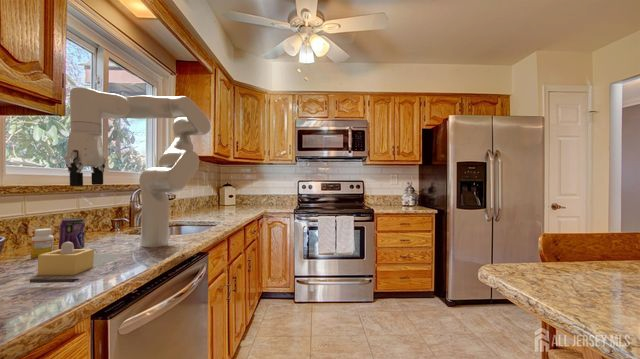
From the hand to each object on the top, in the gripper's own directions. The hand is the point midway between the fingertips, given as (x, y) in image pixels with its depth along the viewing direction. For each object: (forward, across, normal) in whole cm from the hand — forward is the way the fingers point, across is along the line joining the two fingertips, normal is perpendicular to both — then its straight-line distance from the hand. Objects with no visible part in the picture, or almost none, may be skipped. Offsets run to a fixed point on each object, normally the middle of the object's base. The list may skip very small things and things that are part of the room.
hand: (87, 185), depth 90 cm
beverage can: (+25, -17, -16) cm, 35 cm away
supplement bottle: (+25, -7, -18) cm, 32 cm away
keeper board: (+24, +5, +2) cm, 25 cm away
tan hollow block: (+22, +12, +2) cm, 26 cm away
